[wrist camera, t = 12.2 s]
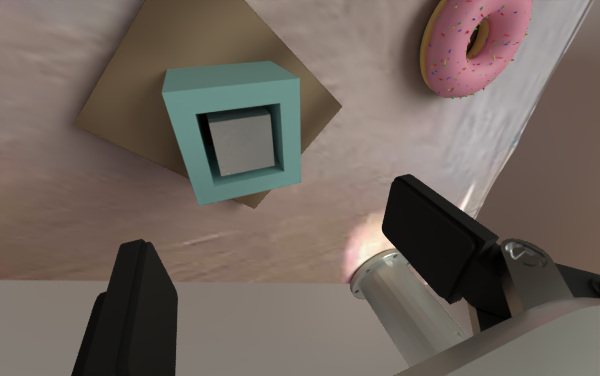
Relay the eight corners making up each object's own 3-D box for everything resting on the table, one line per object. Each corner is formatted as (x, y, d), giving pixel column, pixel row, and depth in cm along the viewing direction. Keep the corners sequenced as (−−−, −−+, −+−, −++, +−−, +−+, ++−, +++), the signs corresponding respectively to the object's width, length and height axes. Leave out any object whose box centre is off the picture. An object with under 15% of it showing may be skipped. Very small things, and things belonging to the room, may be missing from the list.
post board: (332, 100, 24) (382, 131, 18) (250, 197, 27) (270, 252, 21) (183, -59, 15) (185, -103, 9) (82, 114, 18) (31, 169, 12)
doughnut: (483, -71, 21) (537, -84, 18) (511, 28, 27) (554, 31, 24) (391, 48, 24) (424, 54, 21) (436, 111, 30) (466, 123, 27)
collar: (270, 60, 18) (299, 78, 14) (276, 147, 23) (301, 182, 18) (167, 69, 16) (161, 92, 12) (194, 162, 21) (198, 206, 16)
